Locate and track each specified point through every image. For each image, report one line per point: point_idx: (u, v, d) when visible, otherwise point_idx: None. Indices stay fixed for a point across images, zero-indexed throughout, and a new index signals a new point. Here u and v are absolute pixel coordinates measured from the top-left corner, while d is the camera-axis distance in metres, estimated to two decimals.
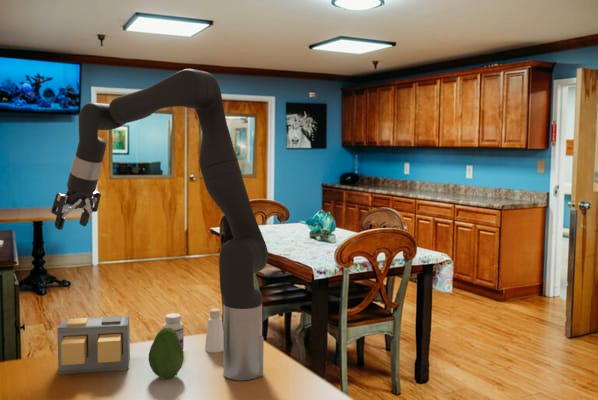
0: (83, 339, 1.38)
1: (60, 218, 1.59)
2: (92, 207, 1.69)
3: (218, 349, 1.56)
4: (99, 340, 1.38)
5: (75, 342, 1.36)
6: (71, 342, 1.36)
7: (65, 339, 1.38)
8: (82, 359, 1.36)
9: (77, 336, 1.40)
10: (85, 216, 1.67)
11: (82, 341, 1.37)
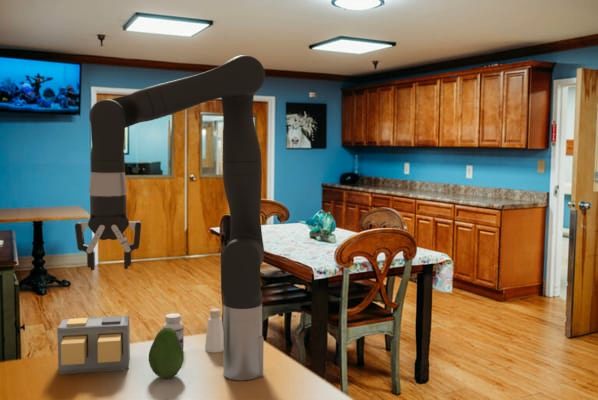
0: (83, 339, 1.38)
1: None
2: (84, 244, 1.28)
3: (218, 349, 1.56)
4: (99, 340, 1.38)
5: (75, 342, 1.36)
6: (71, 342, 1.36)
7: (65, 339, 1.38)
8: (82, 359, 1.36)
9: (77, 336, 1.40)
10: (94, 255, 1.28)
11: (82, 341, 1.37)
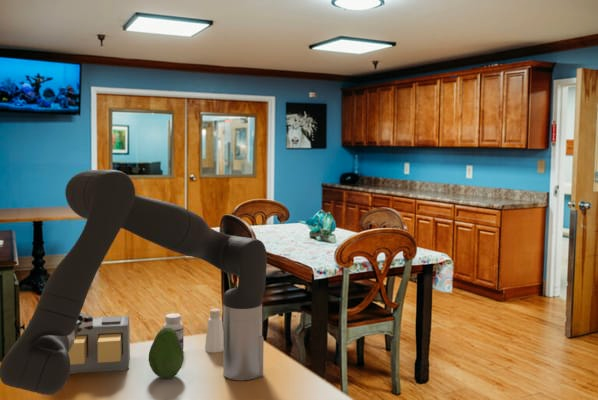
0: (83, 339, 1.38)
1: None
2: None
3: (218, 349, 1.56)
4: (99, 340, 1.38)
5: (75, 342, 1.36)
6: None
7: None
8: (82, 359, 1.36)
9: (77, 336, 1.40)
10: None
11: (82, 341, 1.37)
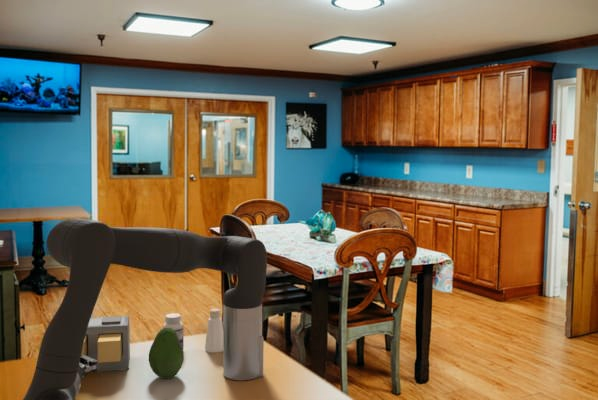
0: None
1: None
2: None
3: (218, 349, 1.56)
4: (99, 340, 1.38)
5: None
6: None
7: None
8: None
9: None
10: None
11: None
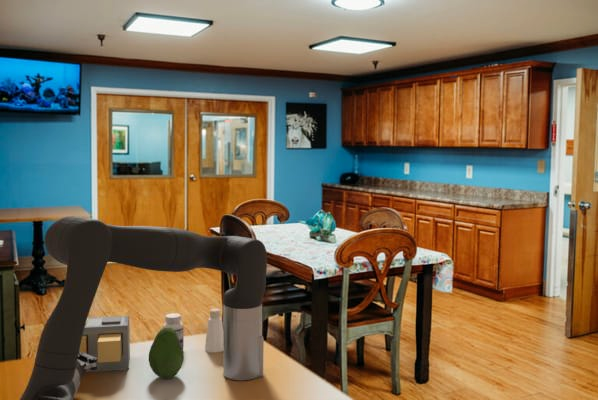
0: None
1: None
2: None
3: (218, 349, 1.56)
4: (99, 340, 1.38)
5: None
6: None
7: None
8: None
9: None
10: None
11: (84, 336, 1.40)
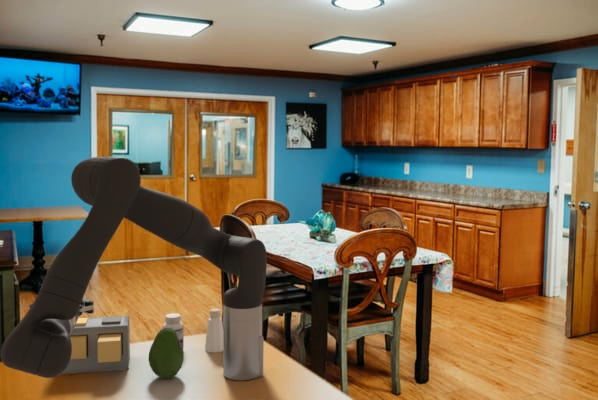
0: None
1: None
2: None
3: (218, 349, 1.56)
4: (99, 340, 1.38)
5: (77, 337, 1.40)
6: (73, 337, 1.39)
7: None
8: (84, 354, 1.40)
9: None
10: None
11: (84, 336, 1.40)
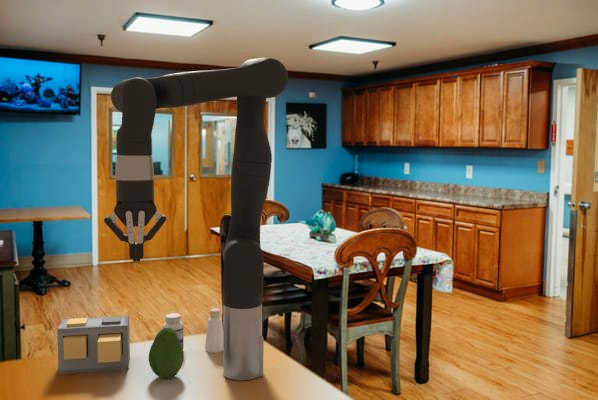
0: None
1: None
2: (125, 234, 1.21)
3: (218, 349, 1.56)
4: (99, 340, 1.38)
5: (77, 337, 1.40)
6: (73, 337, 1.39)
7: None
8: (84, 354, 1.40)
9: None
10: None
11: (84, 336, 1.40)
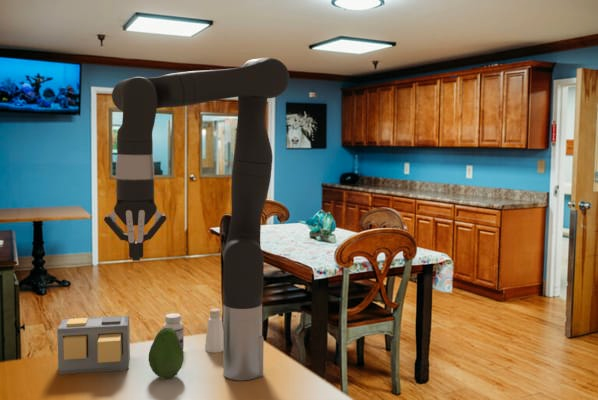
0: None
1: None
2: (125, 233, 1.22)
3: (218, 349, 1.56)
4: (99, 340, 1.38)
5: (77, 337, 1.40)
6: (73, 337, 1.39)
7: None
8: (84, 354, 1.40)
9: None
10: None
11: (84, 336, 1.40)
